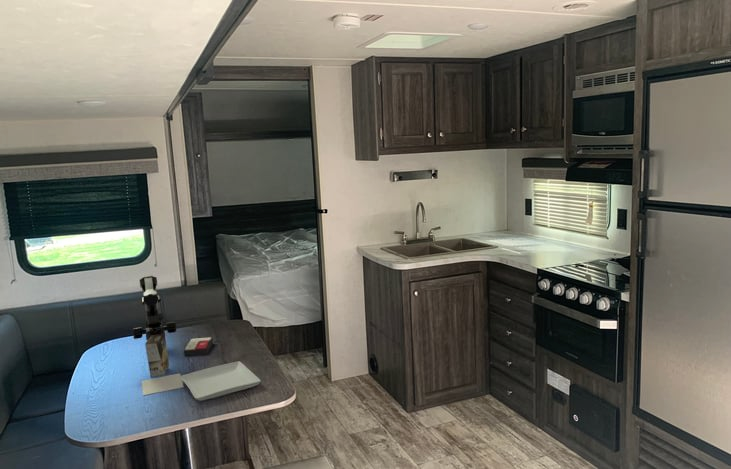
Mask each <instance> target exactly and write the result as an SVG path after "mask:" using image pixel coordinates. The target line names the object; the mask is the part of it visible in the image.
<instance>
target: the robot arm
mask: <svg viewBox="0 0 731 469" xmlns="http://www.w3.org/2000/svg"><path fill="white" fill-rule="evenodd" d="M157 278H158V277H156V276H153V275H145V276H142V278H140V279H139V286H140V288H141V290H142V294H143V296H141V300H142V305H143V306H144V308H145V315H146V316H145V317H146V322H145V327H146V328H144V329H142V326H140V327H134V328H133V329H132V336H133V337H132V338H133V339H134V340H137V339H141V338H143V336H144V335H145V340H146V341H148V339H149V338H150V336H151V335H158V334H165V335H166V333H165V332H167V333H169V334H173V333H176V332H177V324H176V322H175V321H170V322H166V325H164V326H163V325H162V322H161V321H164V320H165V319H164V312H162V313H161V312H160V310H159V303H160V302H161V301H162V298H161V296H160V295H159V294H158V292H157V286H158V279H157Z"/></svg>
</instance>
